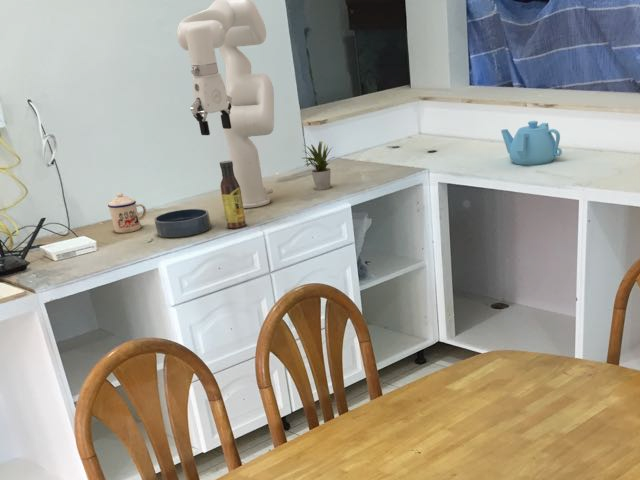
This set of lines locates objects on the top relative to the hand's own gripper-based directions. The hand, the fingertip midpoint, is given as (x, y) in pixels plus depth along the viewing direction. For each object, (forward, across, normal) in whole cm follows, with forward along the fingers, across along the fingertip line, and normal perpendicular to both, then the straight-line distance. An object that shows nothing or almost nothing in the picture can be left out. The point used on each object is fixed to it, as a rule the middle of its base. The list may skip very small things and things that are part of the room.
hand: (216, 131), depth 289 cm
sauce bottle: (+28, -2, -3) cm, 29 cm away
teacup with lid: (+29, -14, +33) cm, 46 cm away
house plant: (+30, +52, +4) cm, 60 cm away
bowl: (+28, -11, +11) cm, 33 cm away
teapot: (+30, +108, -54) cm, 124 cm away
